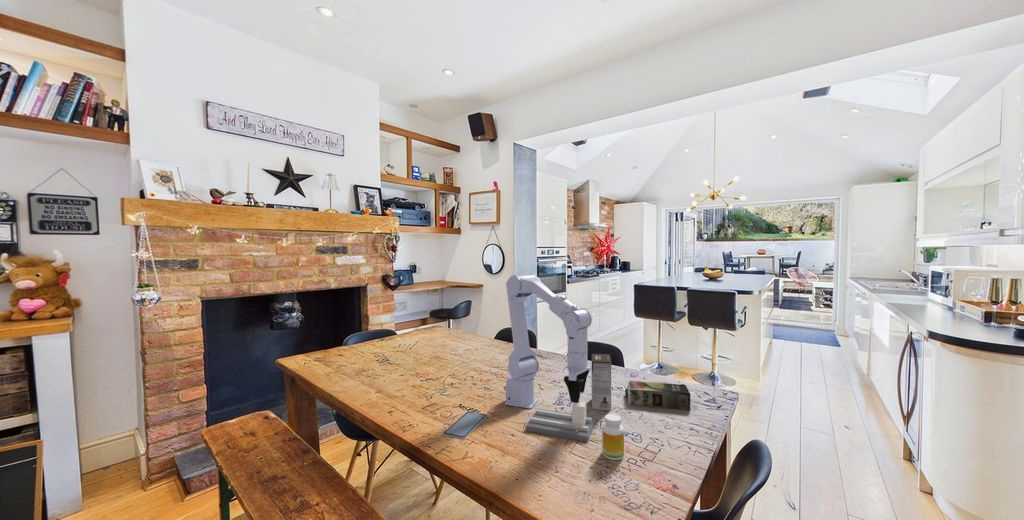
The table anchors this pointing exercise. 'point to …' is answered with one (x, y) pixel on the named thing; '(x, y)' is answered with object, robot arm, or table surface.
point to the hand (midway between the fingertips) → (577, 396)
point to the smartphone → (465, 425)
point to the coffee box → (601, 381)
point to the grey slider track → (559, 425)
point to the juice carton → (658, 395)
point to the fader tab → (579, 413)
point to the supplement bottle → (613, 437)
